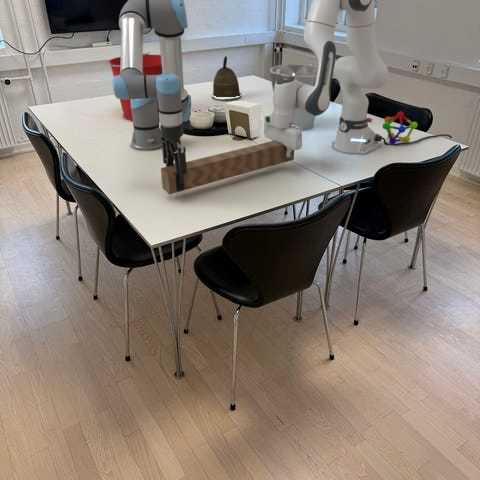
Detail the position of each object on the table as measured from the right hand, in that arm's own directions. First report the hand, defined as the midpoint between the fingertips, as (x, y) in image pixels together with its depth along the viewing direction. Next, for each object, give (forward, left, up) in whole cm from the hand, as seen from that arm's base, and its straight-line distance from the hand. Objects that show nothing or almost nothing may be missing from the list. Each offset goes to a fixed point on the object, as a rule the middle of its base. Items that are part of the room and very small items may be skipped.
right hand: (281, 153), depth 182 cm
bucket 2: (-43, -40, -6) cm, 59 cm away
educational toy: (-64, +8, -6) cm, 65 cm away
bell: (-45, -108, -6) cm, 117 cm away
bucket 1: (+14, -101, -6) cm, 102 cm away
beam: (+25, 0, -3) cm, 25 cm away
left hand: (+49, 0, -2) cm, 49 cm away
